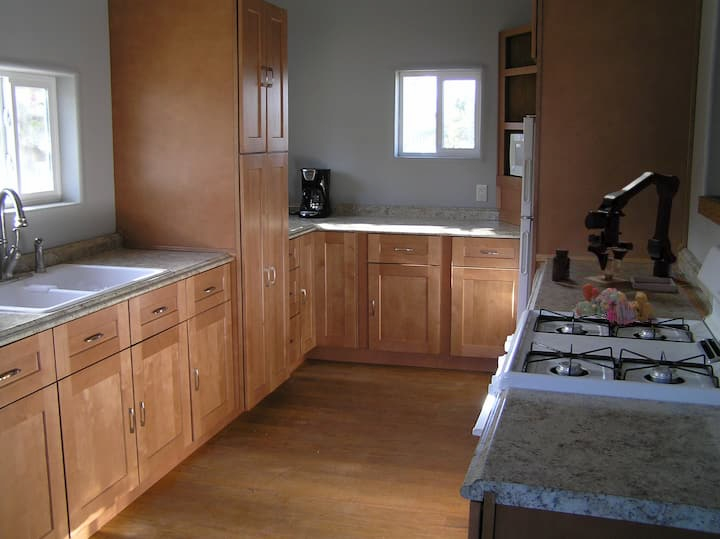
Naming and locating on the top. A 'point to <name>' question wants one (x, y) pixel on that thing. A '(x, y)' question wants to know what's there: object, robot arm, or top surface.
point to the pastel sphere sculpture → (614, 306)
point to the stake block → (605, 277)
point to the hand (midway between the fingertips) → (609, 269)
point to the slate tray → (653, 286)
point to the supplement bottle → (561, 265)
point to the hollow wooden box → (611, 267)
